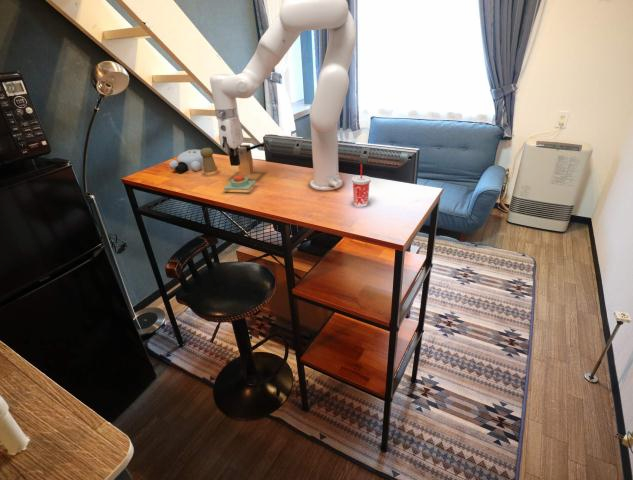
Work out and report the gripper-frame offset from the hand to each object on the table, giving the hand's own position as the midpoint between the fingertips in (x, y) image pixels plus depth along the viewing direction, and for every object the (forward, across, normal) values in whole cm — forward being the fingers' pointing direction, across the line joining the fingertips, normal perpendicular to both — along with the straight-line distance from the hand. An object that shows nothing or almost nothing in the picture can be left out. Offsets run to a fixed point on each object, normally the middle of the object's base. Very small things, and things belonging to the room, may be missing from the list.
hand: (235, 164), depth 128 cm
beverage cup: (+9, -9, -48) cm, 50 cm away
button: (+6, 0, 0) cm, 6 cm away
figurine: (+10, +21, +32) cm, 40 cm away
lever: (-1, +14, -2) cm, 15 cm away
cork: (+10, +17, +21) cm, 29 cm away
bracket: (+10, +14, +2) cm, 18 cm away
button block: (+10, 0, 0) cm, 10 cm away
